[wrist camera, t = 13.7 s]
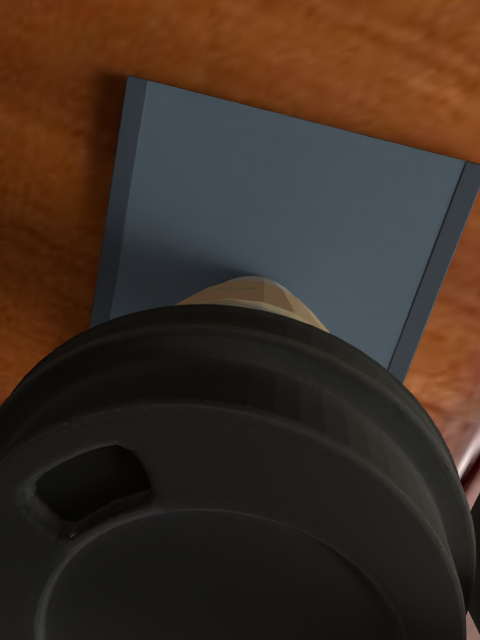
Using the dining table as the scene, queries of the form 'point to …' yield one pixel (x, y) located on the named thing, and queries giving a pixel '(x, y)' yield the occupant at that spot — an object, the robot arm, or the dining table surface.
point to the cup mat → (279, 216)
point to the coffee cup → (227, 485)
